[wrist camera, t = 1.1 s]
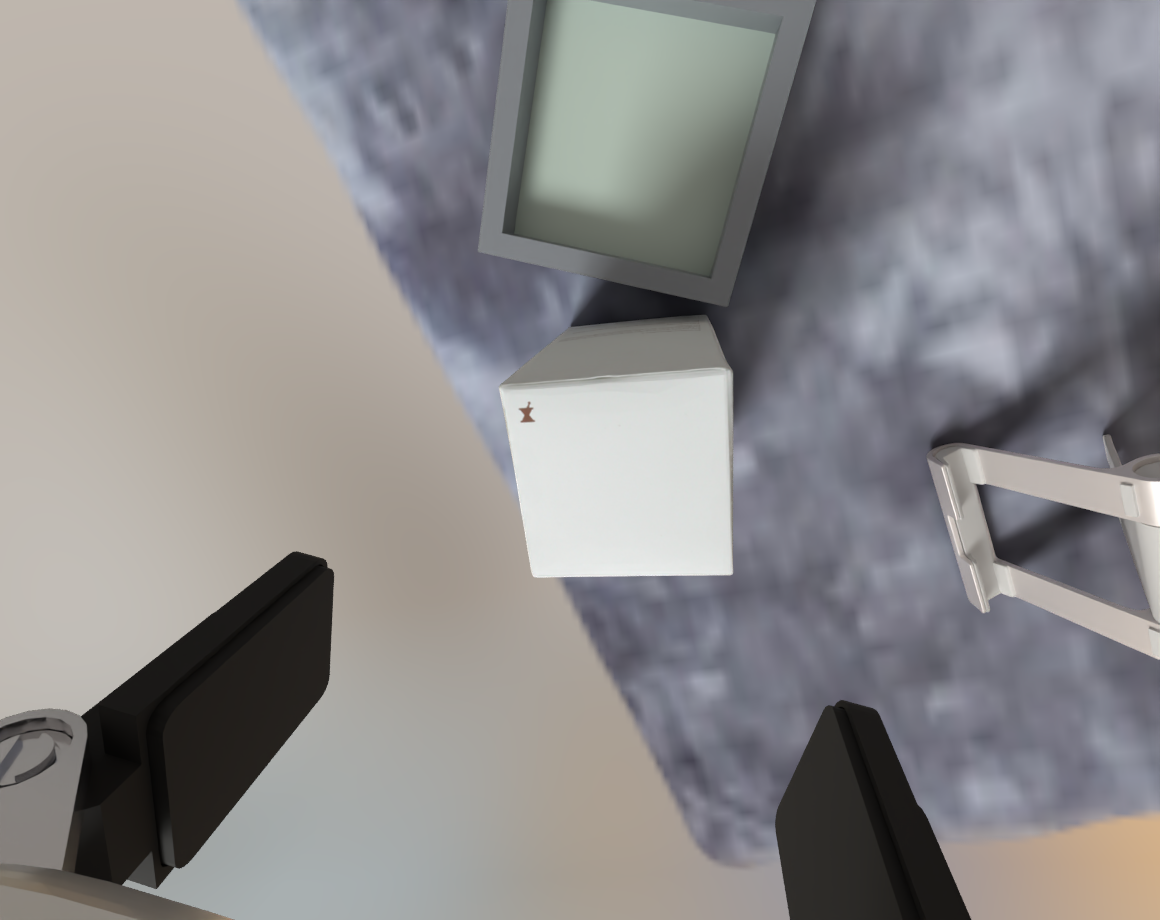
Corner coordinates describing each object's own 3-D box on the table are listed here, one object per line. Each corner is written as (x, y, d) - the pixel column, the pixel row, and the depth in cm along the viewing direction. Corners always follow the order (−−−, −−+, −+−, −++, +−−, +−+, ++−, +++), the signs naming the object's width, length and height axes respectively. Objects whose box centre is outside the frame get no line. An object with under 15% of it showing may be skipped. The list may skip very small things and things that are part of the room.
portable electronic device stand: (919, 451, 29) (1004, 527, 21) (1100, 393, 27) (1267, 456, 19) (961, 590, 31) (1051, 704, 24) (1130, 548, 29) (1291, 659, 21)
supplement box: (581, 458, 32) (523, 582, 21) (566, 323, 30) (491, 378, 18) (716, 453, 31) (736, 583, 19) (713, 311, 28) (734, 362, 17)
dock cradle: (534, -31, 25) (515, -65, 22) (804, 17, 24) (819, -12, 21) (497, 250, 29) (477, 251, 26) (723, 300, 28) (727, 307, 25)
